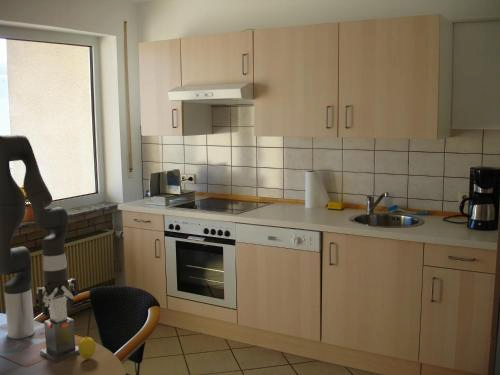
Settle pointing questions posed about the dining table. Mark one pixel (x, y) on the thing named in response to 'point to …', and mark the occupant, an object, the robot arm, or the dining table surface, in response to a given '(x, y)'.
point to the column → (58, 309)
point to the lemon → (87, 347)
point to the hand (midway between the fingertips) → (58, 312)
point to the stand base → (59, 340)
